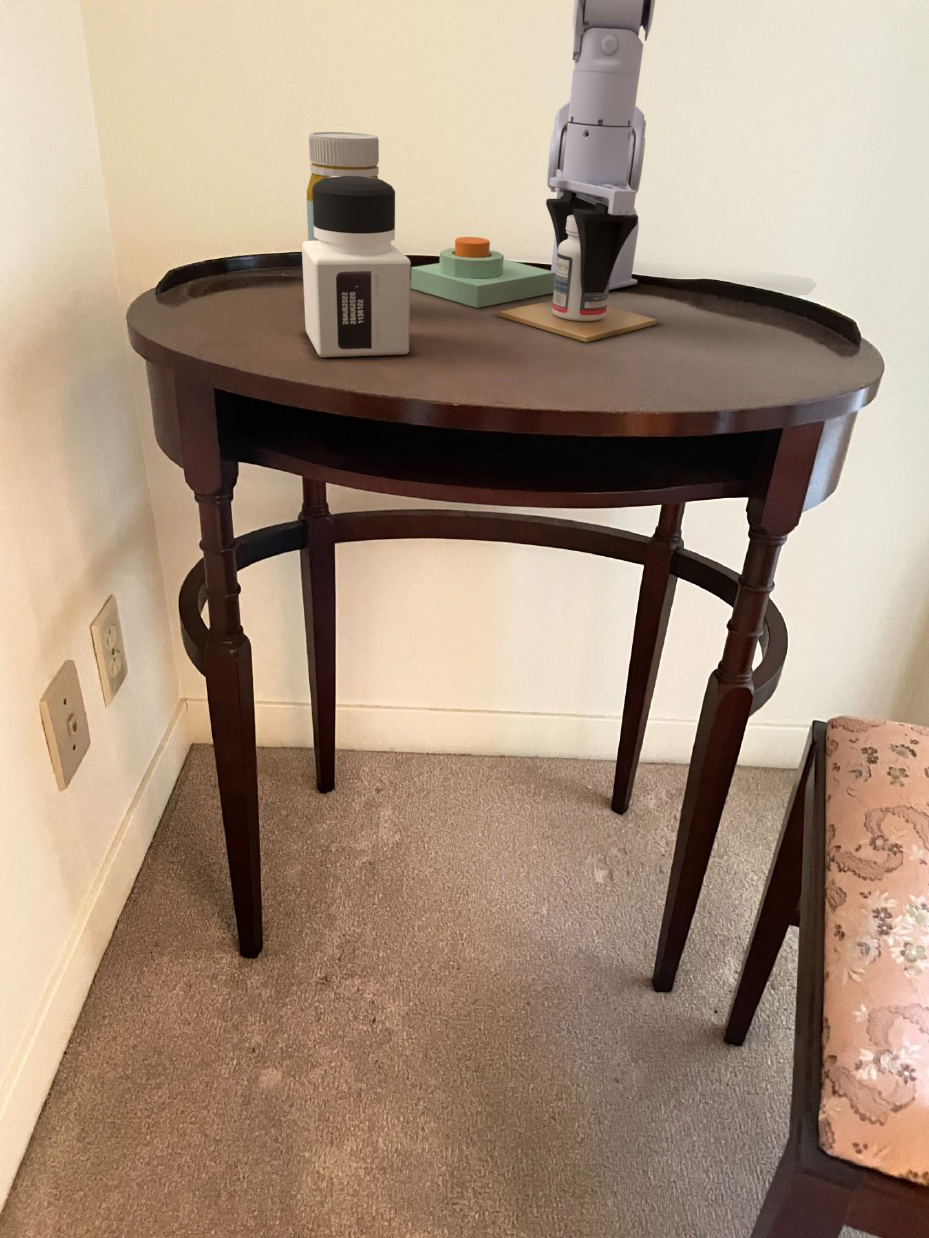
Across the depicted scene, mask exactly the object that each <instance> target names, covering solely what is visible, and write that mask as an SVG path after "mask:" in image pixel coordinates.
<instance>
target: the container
mask: <svg viewBox="0 0 929 1238" xmlns="http://www.w3.org/2000/svg"><path fill="white" fill-rule="evenodd" d="M312 196H313V221H314V237H315V238H317V239H318V241H308V240H305V241H303V242H302V243H301V257H302V261H301V262H302V280H303V281H302V282H303V301H304V322H305V324H304V325H305V326H304V327H305V332H306V334H307V336H308V338H309V340H310V341H311V344H312V346H313V347H314V349H315V351H316V353H317V355H318V356H319V357H320V358H340V357H341V358H342V357H343V358H344V357H345V358H346V357H347V358H348V357H369V356H370V357H373V356H400V355H401V356H403V355H407V354H408V353H409V351H410V333H411V331H410V328H411V327H410V326H411V321H410V320H411V268H412V267H411V265H412V264H411V260H410V259H409V257H408V256H406V255H405V253H403V252H402V251H401V250H400V249H398V248H397V247H396V246H395V245H394V244H392V242H394V240H395V239H396V191H395V189H394V187H393V185H391V184H389V183H387V182H386V181H385V180H383V179H381V178H378V179H376V178H370V177H361V176H333V177H326V178H324V179H322V180H320V181H318V182H316V183H315V185H314V186H313V188H312Z"/></svg>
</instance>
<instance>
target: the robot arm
mask: <svg viewBox="0 0 929 1238" xmlns="http://www.w3.org/2000/svg"><path fill="white" fill-rule="evenodd" d="M573 1H574V2H573V11H572V12H573V14H572V29H573V49H572V61H573V63H574V67H573V70H572V75H571V77H572V78H571V87H570V95H569V96H570V98H569V101H567V102H566V103H565V104H563V105H562V106H561V107H560V108H559V109H558V111H557V114H555V116H554V122H553V130H552V132H551V136H550V137H551V138H550V146H549V154H548V166H547V177H546V179H547V180H546V185H547V187H548V189H550V192H551V193H556V198H547V199H546V201H545V205H546V208H547V211H548V213H549V216H550V219H551V222H552V226H553V230H554V231H553V232H554V236H553V245H552V255H551V267H550V271H553V272H556V262H557V251H558V247H559V245H560V243H561V242H563V241H564V240H567V239H568V234H567V233H566V231H567V230H566V223H567V217H568V216H569V215H573V216H574V218H575V222H576V225H577V229H578V234H579V241H580V252H581V265H580V281H581V289H582V292H584V293H604V291H605V289H606V287H607V284H608V281H609V279H610V283H609V291H611V290H614V289H615V290H616V289H620V288H624V287H630V286H635V285H638V279H635V278H632V276H633V270H634V264H635V263H634V262H635V255H636V250H637V249H636V248H637V243H638V242H637V241H638V235H639V226H640V223H639V216H638V213H637V210H636V207H635V203H636V198H637V197H636V195H637V194H638V192H639V189H640V186H641V185H640V184H641V180H642V179H641V178H642V172H643V164H644V157H645V148H646V129H647V128H646V127H647V121H646V119H645V114H644V113H643V112H642V111H641V109H640V108H639V107H638V106H637V105H636V104H637V96H638V89H639V83H640V82H639V81H640V73H641V67H642V60H643V59H642V58H643V52H644V43H643V41H642V40H641V39H640V29H641V27H642V29H643V30H644V41H645V42H647V40H648V37H649V34H650V32H651V28H652V24H653V19H654V11H655V6H656V0H573Z"/></svg>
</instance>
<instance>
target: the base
mask: <svg viewBox="0 0 929 1238" xmlns="http://www.w3.org/2000/svg"><path fill="white" fill-rule="evenodd" d="M555 273H556V272H553V271H551V270H549V269H544V268H540V267H537V266H532V265H528V264H524V263H520V262H516V261H512V260H507V259H505V256H504V254H502V253H501V252H499V251H498V250H497V251H496V250H492V249H489V257H485V258H469V257H460V256H456V255H455V247H450V248H445V249H442V250H441V251H440V252H439V262H438V263H431V264H423V265H418V266H412V267H411V268H410V290H415V291H418V292H421V293H425V294H428V295H431V296H434V297H438V298H442V299H445V300H448V301H452V302H455V303H459V304H462V305H465V306H468V307H471V308H476V309H479V308H485V307H489V306H490V307H491V306H494V305H500V304H504V303H511V302H516V301H520V300H526V299H530V298H536V297H541V296H545V295H551V294H554V284H555Z"/></svg>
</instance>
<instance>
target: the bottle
mask: <svg viewBox="0 0 929 1238" xmlns="http://www.w3.org/2000/svg"><path fill="white" fill-rule="evenodd" d="M308 134H309V136H308V148H309V149H308V152H309V160H310V164H309V170H310V173H311V174H310V177H309V181H308V185H307V189H306V218H307V241H318V239H317V238H315V237H314V221H313V196H312V188H313V186H314V185H315V183H316V182H318V181H320V180H322V179H324V178H326V177H333V176H361V177H370V178H376V179H379V177H378V175H379V174H380V171H379V169H380V167H379V166H378V165H379V162H380V156H379V155H380V151H379V150H380V149H379V148H380V142H379V141H380V140H379V136H378V135H375V134H369V133H361V132H346V131H313V132H310V133H308Z"/></svg>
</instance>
